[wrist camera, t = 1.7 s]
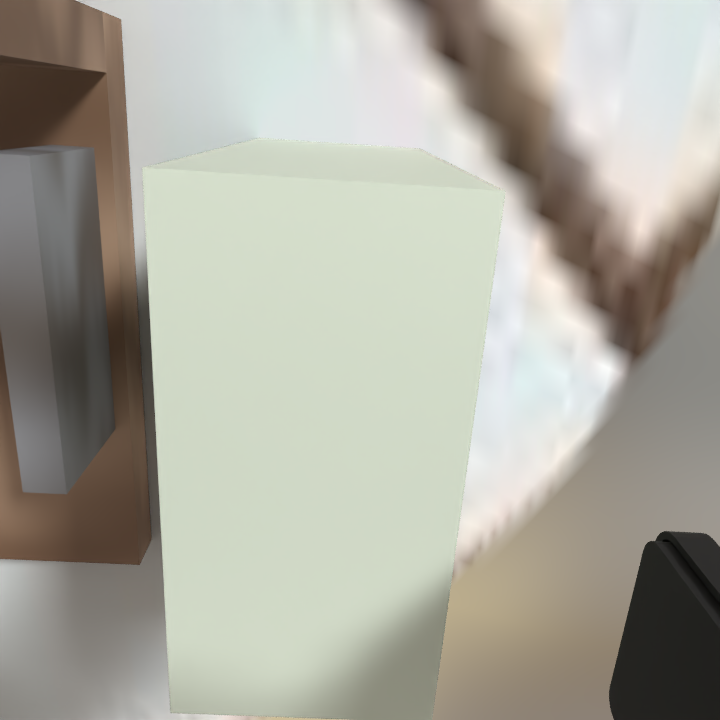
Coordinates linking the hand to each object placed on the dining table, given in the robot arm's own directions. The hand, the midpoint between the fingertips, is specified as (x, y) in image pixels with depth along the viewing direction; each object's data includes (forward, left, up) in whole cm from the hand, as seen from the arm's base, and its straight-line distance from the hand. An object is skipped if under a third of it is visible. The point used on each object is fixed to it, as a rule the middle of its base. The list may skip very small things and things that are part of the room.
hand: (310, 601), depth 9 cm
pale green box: (-1, 0, -14) cm, 14 cm away
